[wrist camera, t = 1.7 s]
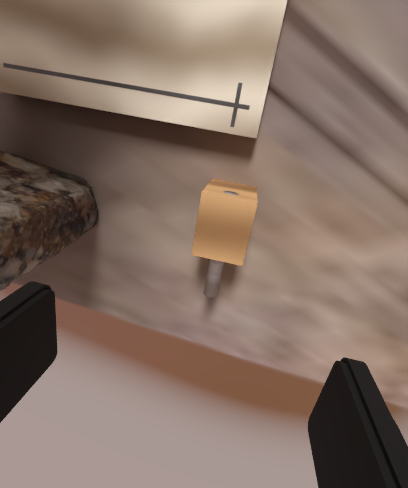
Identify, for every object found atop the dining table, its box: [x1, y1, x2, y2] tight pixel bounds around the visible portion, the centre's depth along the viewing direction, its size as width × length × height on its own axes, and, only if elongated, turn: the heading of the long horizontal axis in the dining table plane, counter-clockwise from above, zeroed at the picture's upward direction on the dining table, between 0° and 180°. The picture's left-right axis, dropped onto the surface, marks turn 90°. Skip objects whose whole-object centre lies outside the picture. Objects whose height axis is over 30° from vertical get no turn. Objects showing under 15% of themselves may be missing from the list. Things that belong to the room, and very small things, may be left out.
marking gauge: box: [191, 179, 258, 298], centre depth 24 cm, size 9×4×6 cm, turn 170°
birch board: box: [0, 0, 287, 138], centre depth 22 cm, size 11×22×2 cm, turn 80°
